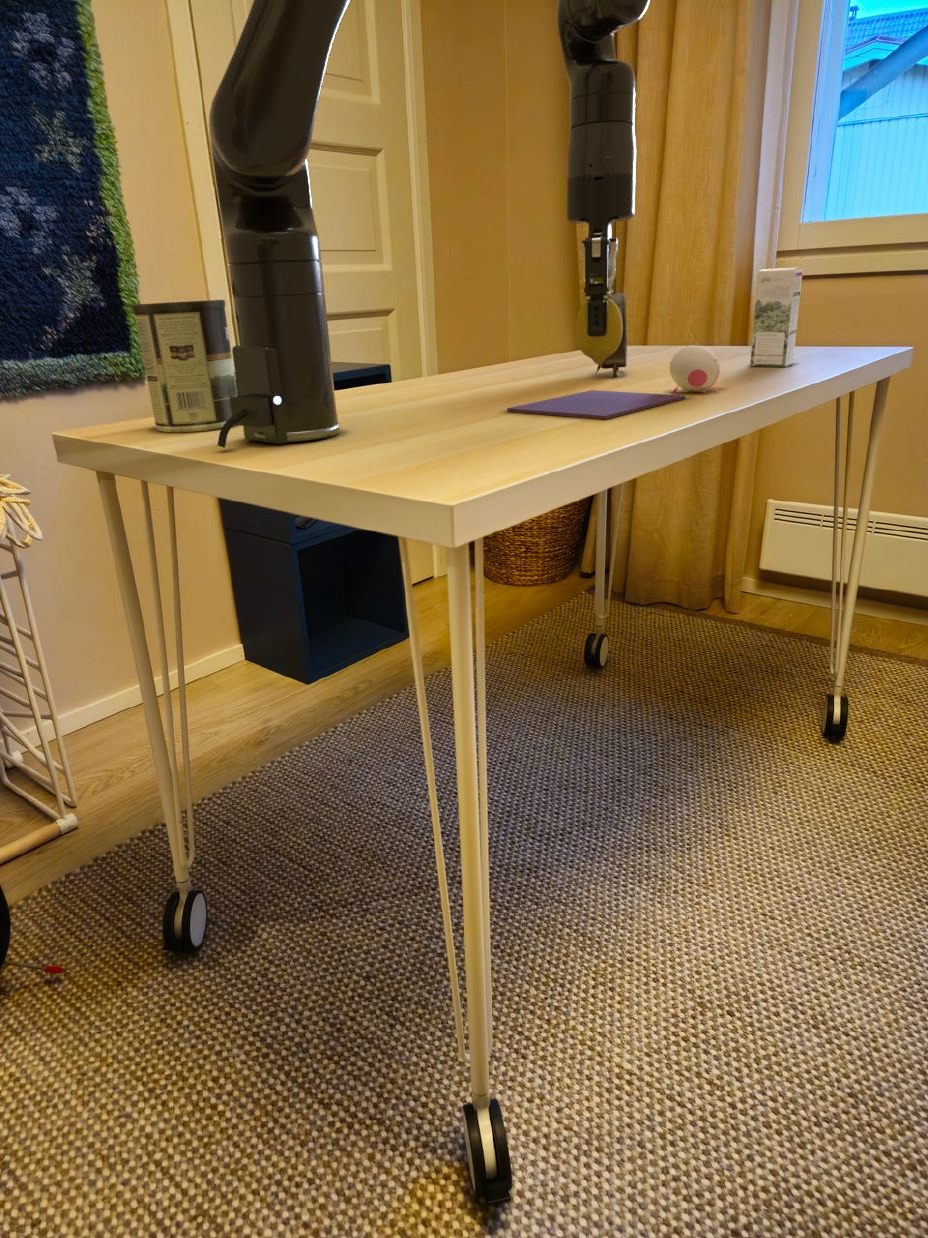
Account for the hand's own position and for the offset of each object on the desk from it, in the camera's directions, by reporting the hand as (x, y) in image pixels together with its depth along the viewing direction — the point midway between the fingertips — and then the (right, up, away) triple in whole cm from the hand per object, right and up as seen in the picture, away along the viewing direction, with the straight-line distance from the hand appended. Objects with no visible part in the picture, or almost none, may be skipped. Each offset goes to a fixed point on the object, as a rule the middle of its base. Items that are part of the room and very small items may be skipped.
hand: (598, 333), depth 98 cm
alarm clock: (+7, +5, +34) cm, 35 cm away
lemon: (0, -3, +1) cm, 4 cm away
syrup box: (+34, +7, +36) cm, 50 cm away
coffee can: (-48, -11, +2) cm, 49 cm away
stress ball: (+15, -4, +11) cm, 19 cm away
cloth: (0, -8, +3) cm, 8 cm away
